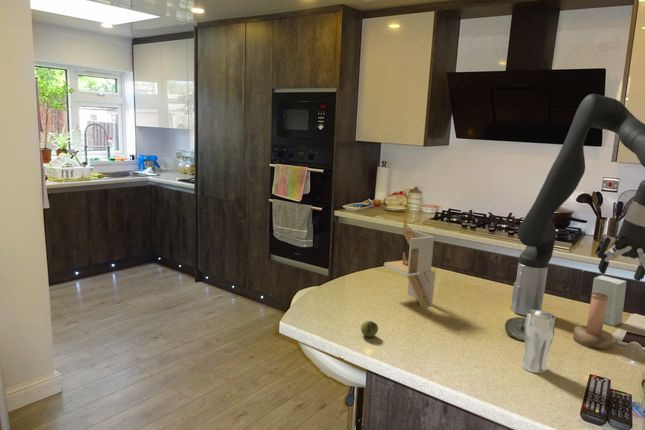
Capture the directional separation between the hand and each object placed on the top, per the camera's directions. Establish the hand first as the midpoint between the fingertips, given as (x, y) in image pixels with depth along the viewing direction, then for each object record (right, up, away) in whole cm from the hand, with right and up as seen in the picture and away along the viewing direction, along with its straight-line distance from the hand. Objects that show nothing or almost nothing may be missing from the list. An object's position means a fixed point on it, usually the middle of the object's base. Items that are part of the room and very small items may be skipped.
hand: (618, 275), depth 122 cm
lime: (-65, -20, +12) cm, 69 cm away
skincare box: (+17, -20, +34) cm, 43 cm away
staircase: (-48, -15, +43) cm, 66 cm away
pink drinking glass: (+3, -19, +16) cm, 25 cm away
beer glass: (-23, -24, -1) cm, 34 cm away
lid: (-18, -21, +19) cm, 33 cm away
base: (+2, -22, +16) cm, 28 cm away
